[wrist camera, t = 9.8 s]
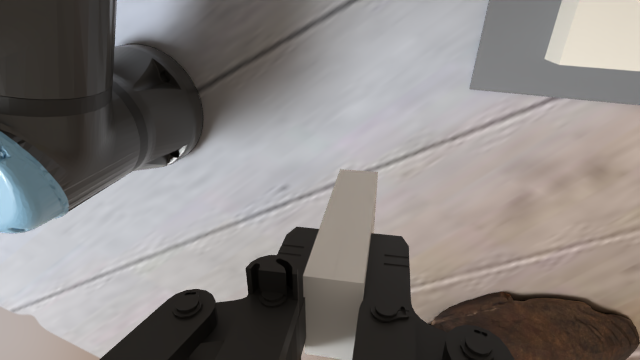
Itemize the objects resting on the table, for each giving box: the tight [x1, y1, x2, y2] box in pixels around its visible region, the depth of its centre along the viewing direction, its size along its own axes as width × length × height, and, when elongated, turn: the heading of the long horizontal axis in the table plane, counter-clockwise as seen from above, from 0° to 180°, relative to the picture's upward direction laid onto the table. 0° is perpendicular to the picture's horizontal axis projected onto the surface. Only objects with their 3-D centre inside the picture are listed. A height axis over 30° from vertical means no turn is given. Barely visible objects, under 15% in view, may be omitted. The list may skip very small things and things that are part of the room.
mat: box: [470, 0, 640, 105], centre depth 33 cm, size 22×16×1 cm
